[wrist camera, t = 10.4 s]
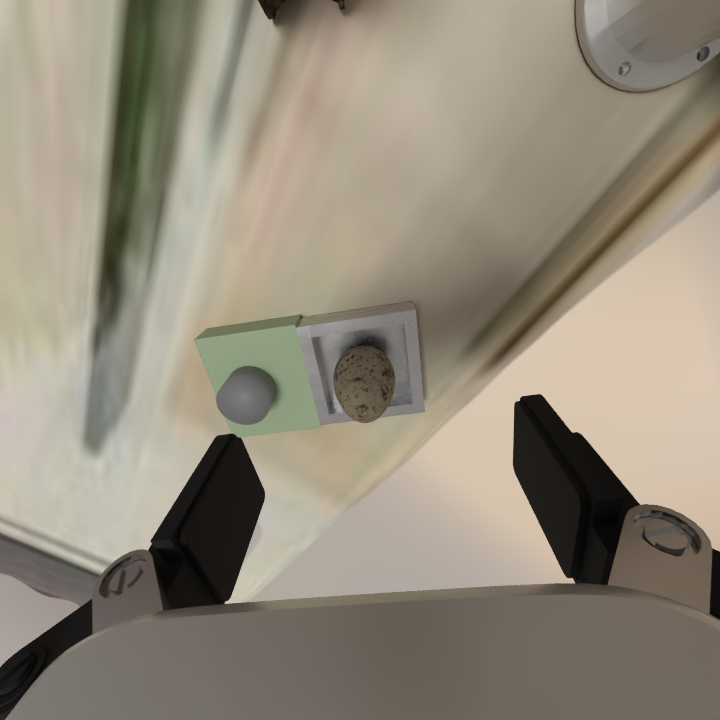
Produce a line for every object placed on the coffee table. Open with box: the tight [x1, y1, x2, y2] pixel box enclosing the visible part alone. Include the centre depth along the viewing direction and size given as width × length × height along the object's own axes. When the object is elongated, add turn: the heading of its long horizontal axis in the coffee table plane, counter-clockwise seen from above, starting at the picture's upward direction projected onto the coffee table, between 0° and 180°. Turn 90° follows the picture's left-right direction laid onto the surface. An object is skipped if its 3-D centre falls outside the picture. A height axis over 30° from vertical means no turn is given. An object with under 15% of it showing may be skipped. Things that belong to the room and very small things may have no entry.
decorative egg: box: [333, 346, 395, 423], centre depth 32 cm, size 6×6×10 cm
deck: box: [194, 315, 321, 437], centre depth 35 cm, size 10×12×6 cm
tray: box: [296, 301, 425, 425], centre depth 35 cm, size 11×11×3 cm
